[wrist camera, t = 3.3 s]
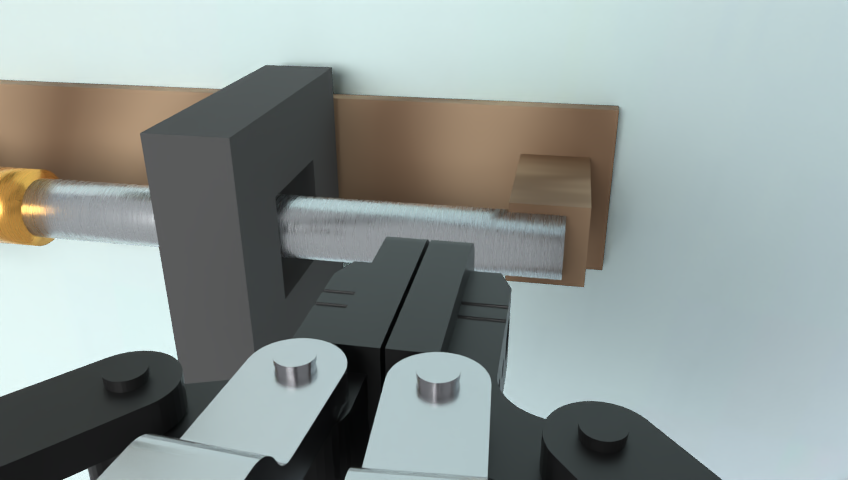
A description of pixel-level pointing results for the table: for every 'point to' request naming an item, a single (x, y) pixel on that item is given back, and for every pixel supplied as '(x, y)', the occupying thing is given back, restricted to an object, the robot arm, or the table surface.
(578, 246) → the stand
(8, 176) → the pipe
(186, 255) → the dark grey frame
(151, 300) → the table surface
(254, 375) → the robot arm
